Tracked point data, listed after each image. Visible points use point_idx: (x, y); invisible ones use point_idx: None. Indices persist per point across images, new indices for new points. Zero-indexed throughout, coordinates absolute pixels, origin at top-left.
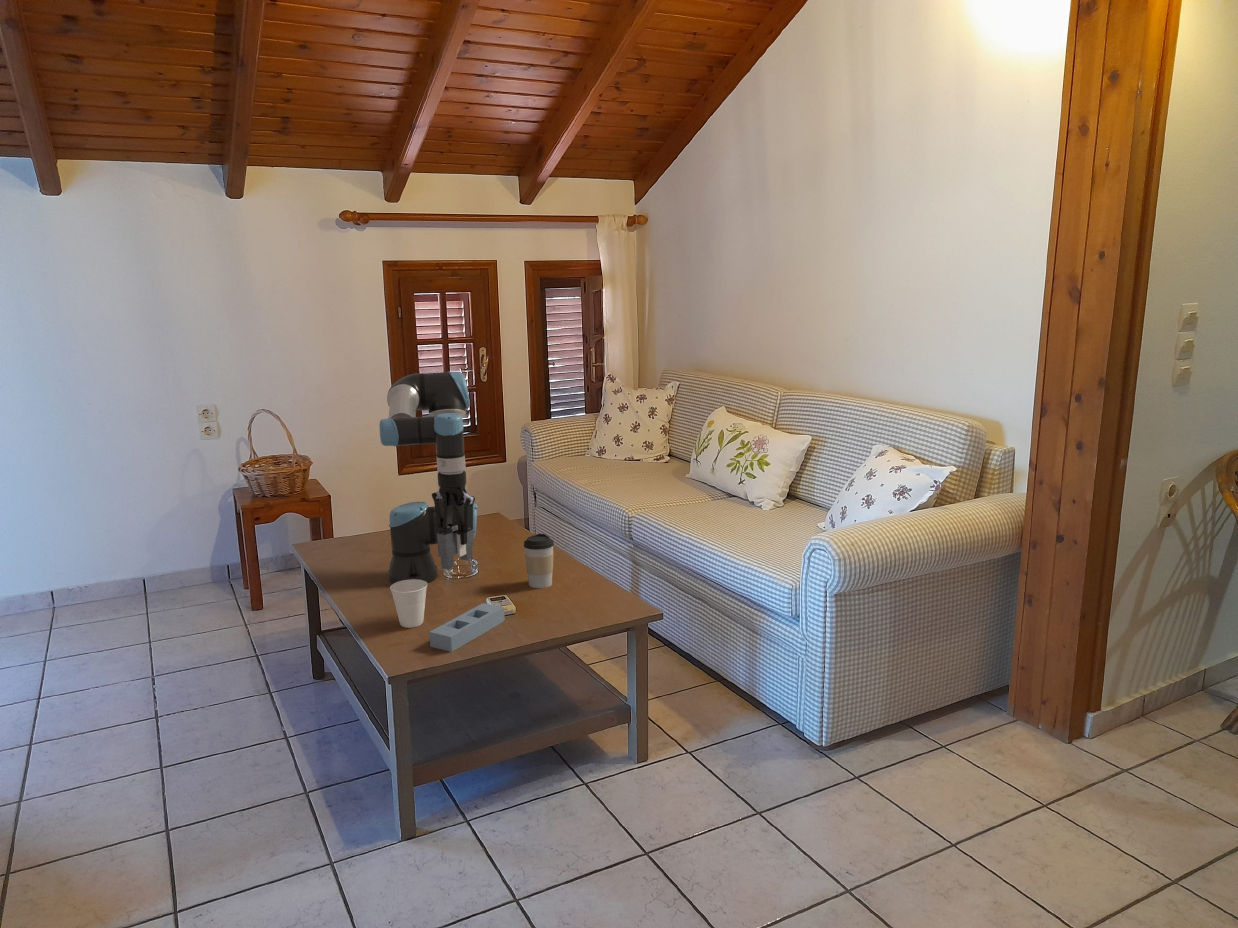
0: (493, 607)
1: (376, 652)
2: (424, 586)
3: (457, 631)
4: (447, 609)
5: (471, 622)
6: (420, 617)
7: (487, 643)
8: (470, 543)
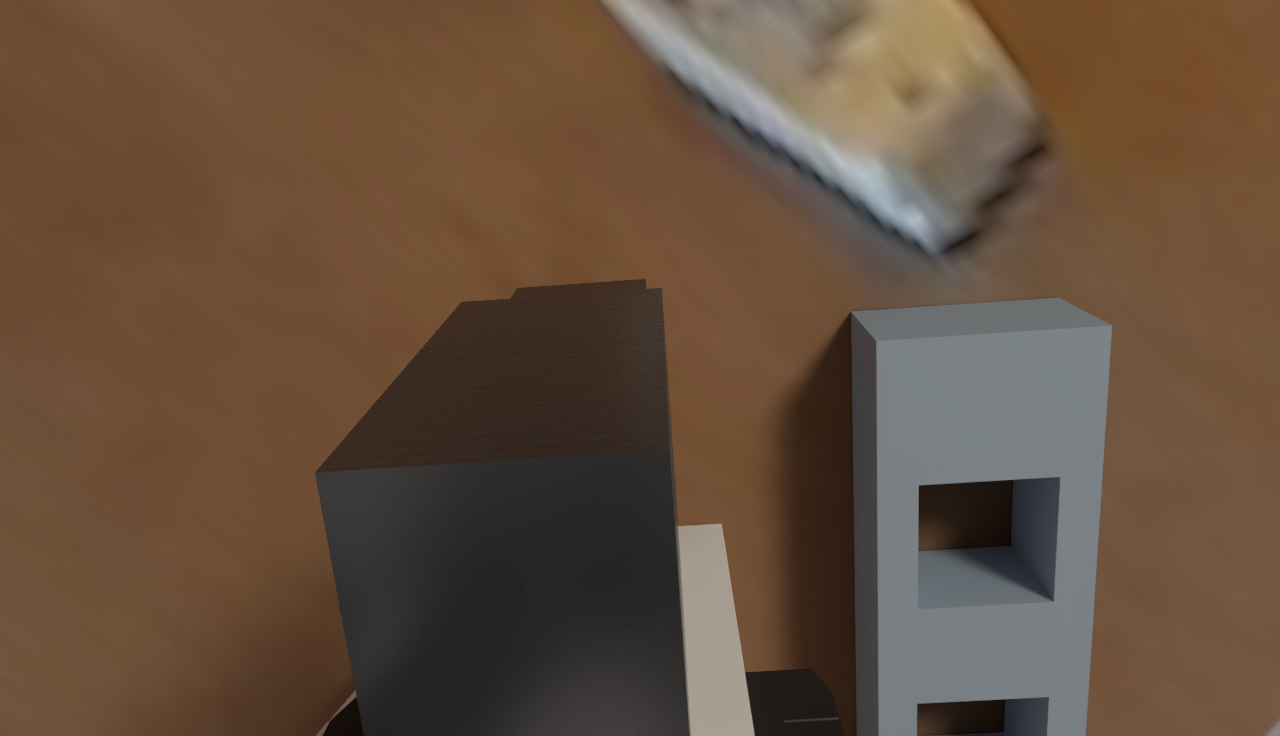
0: (1027, 376)
1: None
2: None
3: None
4: None
5: (1051, 684)
6: None
7: (1171, 646)
8: (669, 406)
